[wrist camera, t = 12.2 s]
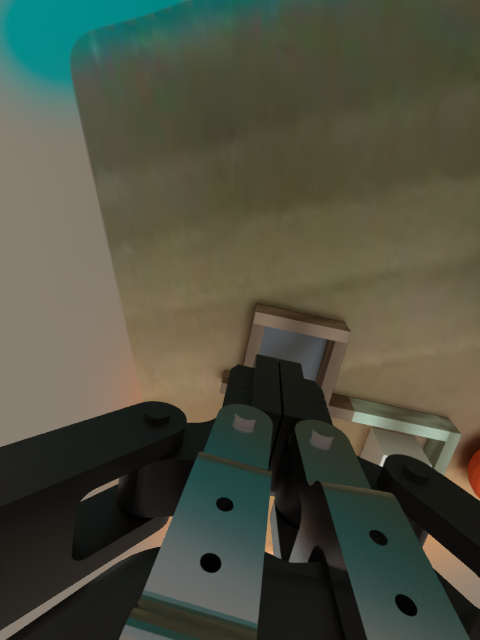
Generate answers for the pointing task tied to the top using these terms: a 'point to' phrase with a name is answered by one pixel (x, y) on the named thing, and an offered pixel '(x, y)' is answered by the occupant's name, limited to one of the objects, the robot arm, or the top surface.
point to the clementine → (475, 473)
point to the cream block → (390, 446)
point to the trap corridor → (308, 347)
